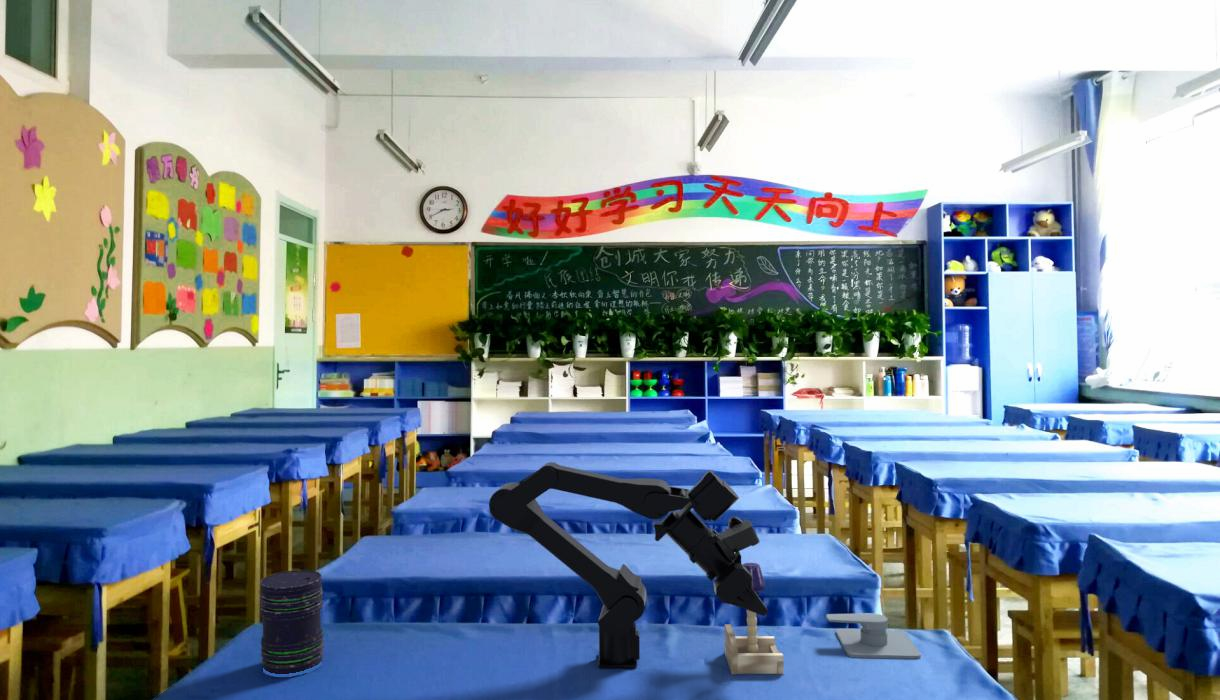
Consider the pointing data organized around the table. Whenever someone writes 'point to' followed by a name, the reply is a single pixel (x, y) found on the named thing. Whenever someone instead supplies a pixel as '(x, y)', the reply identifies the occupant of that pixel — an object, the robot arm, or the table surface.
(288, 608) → the storage jar
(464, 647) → the table surface
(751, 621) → the toy lamp
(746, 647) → the birch bracket
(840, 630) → the shower valve
